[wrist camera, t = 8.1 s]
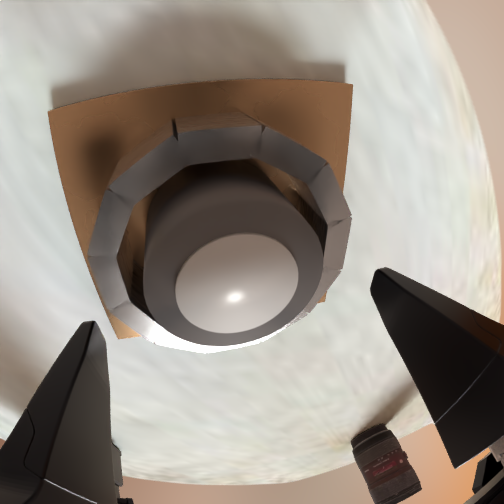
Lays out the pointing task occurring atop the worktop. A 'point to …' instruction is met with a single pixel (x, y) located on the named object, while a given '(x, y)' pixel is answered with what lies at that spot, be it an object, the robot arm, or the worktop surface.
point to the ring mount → (189, 153)
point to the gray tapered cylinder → (227, 255)
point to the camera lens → (384, 466)
